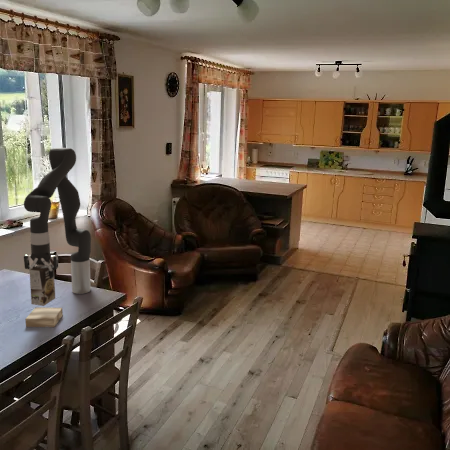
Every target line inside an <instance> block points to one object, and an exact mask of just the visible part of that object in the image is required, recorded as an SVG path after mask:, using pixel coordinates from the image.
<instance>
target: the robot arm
mask: <svg viewBox="0 0 450 450" xmlns="http://www.w3.org/2000/svg"><path fill="white" fill-rule="evenodd" d="M48 159H49V164H50V168H51V171H48V173H46V174H45V175H44V176H43V177H42V179H41V180H40V182H39V184H38V185H37V187H35V188H34V189H32V190H31V192H29V194H27V195H26V196H25V198H24V202H23V207H24V209H25V210H26V211H27V212H29V213H40V215H39V216H36V217H32V218H30V221H29V229H30V235H29V236H30V237H29V239H30V241H29V242H30V254H27V253H26V254H25V255H23V264H24V270H29V271H30V269H32V268H34V267H36V266H37V265H46V267H48V269H49V270H50V271H49V275H50V279H52V278H53V277H54V278H55V271H56V270H57V269H58V268H59V255H58V254H55V255H52V254H51V242H50V235H49V234H50V233H49V217H50V212H51V209H52V201H51V198H52V197H53V195H54V193H56V190H57V194H58V198H59V199H58V200H59V203H60V204H59V205H60V208H61V211H62V217H63V225H64V234H65V240H66V242H67V244H68V245H69V246H70V247H77V248H78V249H77V251H75V252H72V253H71V255H70V266H71V267H70V272H71V273H70V274H71V292H72V293H74V294H78V295H82V294H87V293H89V292H90V291H91V290H92V289H91V286H92V285H91V264H90V263H91V262H90V261H91V259H90V255H91V250H92V249H91V248H92V243H91V242H92V235H91V233H90V231H89V230H88V229H84V228H78V227H77V223H76V217H77V215H78V213H79V211H80V208H81V199H80V194H79V190H78V189H77V187H76V186H75V185H74V184H73V183H72V181H70V180H69V179H68V177H67V174H68V173H69V172H70V171H71V170H72V169H73V168H74V167H75V165H76V162H77V155H76V151H75V150H74V149H73V148H71V147H52V148H50V150H49V152H48ZM30 259H31V260H32V263H30ZM51 260H52V262H53V263H52V262H51ZM30 264H31V265H30ZM53 265H54V266H53Z"/></svg>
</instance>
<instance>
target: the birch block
mask: <svg viewBox="0 0 450 450" xmlns="http://www.w3.org/2000/svg"><path fill="white" fill-rule="evenodd" d="M63 313H64V312H63V307H45V306H41V307H37V306H36V307H34V308H33V310H32V311H31V312H30V313H29V314H28V315H27V317H25V327H27V328H28V327H29V328H32V327H33V328H55V327H56V325H57V324H58V322H59V321H60V319H62V317H63V315H64V314H63Z"/></svg>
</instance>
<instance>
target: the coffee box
mask: <svg viewBox="0 0 450 450" xmlns="http://www.w3.org/2000/svg"><path fill="white" fill-rule="evenodd" d="M52 265H53V266H54V264H52ZM49 271H50V270H49V269H48V267H46V265H37V264H36V265H35V267H34V268H32V269H30V270H29V285H30V286H29V287H30V301H31V302H30V303H31V305H34V306H41V307H45V306H46V305H48V304H49V303H50V302H52V301H53V300H55V299H56V284H55V276H54V277H53V278H52V279H50V275H49Z"/></svg>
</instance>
